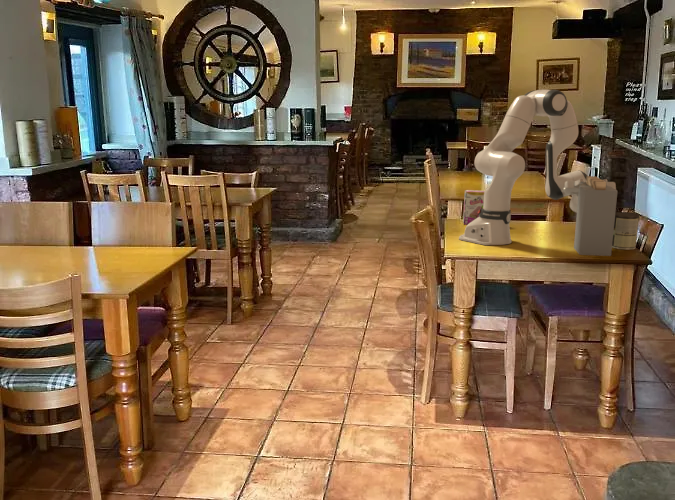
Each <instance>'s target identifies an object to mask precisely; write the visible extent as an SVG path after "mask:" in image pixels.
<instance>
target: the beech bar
mask: <svg viewBox="0 0 675 500" xmlns="http://www.w3.org/2000/svg"><path fill="white" fill-rule="evenodd" d="M586 184H588V185H589V186H591V187H593V188H594V189H596V190H606V182H605V181H603V179H601V178H599V177H597V176H596V175H595V176H593V175H587V179H586Z"/></svg>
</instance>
